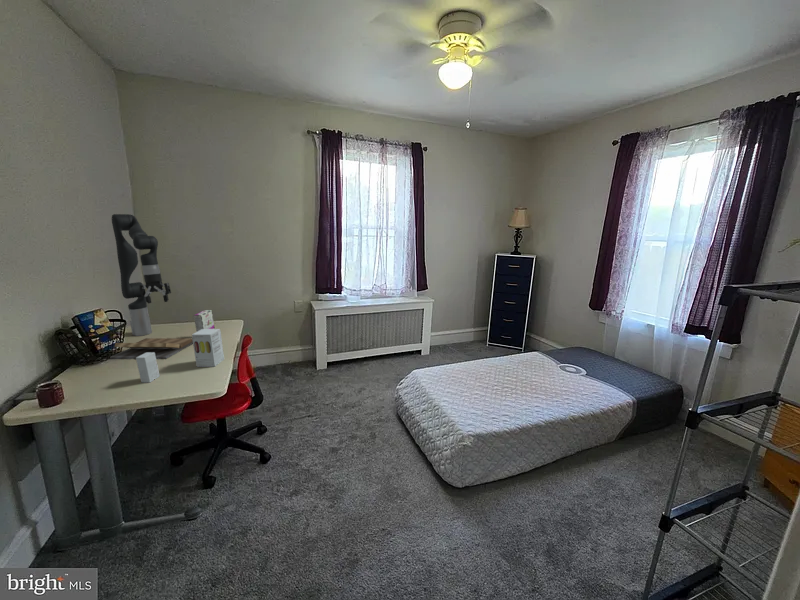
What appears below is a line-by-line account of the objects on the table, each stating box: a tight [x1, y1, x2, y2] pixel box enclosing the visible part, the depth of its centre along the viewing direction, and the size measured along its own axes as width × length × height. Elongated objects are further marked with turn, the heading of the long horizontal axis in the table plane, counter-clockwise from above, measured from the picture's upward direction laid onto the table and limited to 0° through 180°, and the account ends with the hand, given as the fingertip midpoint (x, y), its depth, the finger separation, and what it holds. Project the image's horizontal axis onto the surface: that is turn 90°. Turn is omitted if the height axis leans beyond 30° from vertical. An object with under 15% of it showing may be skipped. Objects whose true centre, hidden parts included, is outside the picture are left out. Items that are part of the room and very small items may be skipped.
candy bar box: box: [193, 309, 216, 332], centre depth 201 cm, size 11×5×16 cm, turn 179°
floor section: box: [109, 337, 193, 360], centre depth 184 cm, size 30×24×3 cm
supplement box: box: [191, 328, 225, 368], centre depth 164 cm, size 10×9×17 cm
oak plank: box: [114, 342, 180, 349], centre depth 179 cm, size 28×10×2 cm, turn 88°
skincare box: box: [135, 352, 161, 383], centre depth 148 cm, size 6×4×12 cm
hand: (157, 302), depth 182 cm, fingers open, 8 cm apart
